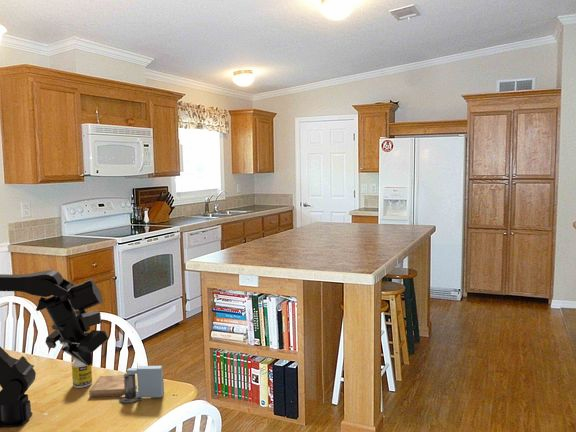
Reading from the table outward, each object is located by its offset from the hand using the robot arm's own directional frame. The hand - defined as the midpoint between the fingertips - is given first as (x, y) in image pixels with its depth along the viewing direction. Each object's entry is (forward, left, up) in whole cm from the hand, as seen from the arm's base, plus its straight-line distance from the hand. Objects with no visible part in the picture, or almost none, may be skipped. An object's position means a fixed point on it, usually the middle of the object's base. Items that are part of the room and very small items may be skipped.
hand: (89, 364), depth 135 cm
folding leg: (+14, +4, -11) cm, 18 cm away
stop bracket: (+16, +6, -12) cm, 21 cm away
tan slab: (+5, +9, -12) cm, 15 cm away
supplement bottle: (-8, +15, -12) cm, 21 cm away
